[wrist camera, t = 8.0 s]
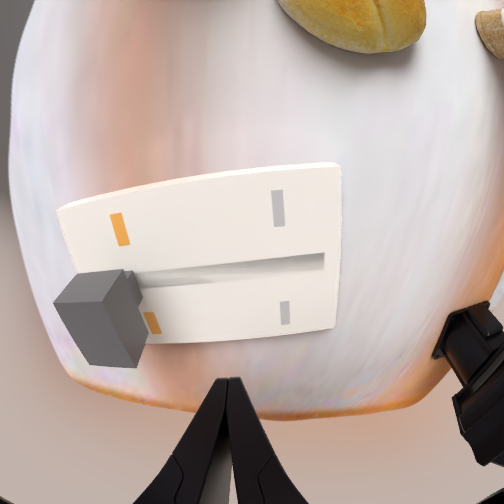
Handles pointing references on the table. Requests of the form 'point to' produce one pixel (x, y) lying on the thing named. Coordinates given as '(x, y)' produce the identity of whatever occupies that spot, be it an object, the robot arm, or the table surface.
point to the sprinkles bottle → (492, 30)
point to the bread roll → (361, 22)
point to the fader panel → (220, 250)
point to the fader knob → (105, 317)
